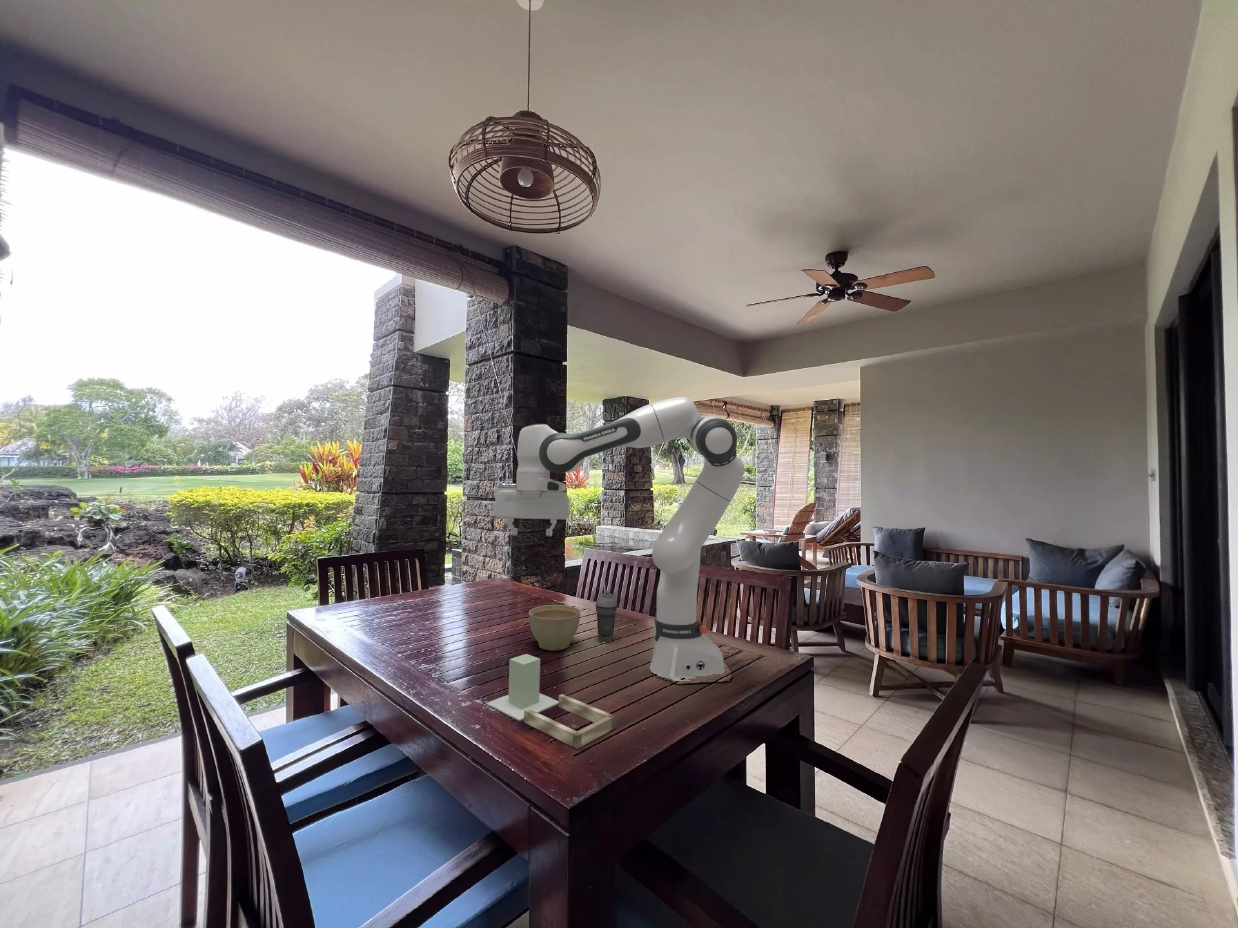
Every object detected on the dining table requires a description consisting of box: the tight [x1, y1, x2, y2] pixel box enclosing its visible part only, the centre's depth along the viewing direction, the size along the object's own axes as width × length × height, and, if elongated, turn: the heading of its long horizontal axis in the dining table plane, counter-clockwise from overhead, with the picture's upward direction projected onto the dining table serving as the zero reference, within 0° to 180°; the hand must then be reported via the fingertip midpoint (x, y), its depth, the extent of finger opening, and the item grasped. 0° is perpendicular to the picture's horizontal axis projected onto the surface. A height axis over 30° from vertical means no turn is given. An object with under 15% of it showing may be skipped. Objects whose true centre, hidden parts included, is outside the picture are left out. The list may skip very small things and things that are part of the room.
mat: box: [485, 692, 559, 722], centre depth 119 cm, size 12×12×1 cm
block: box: [508, 653, 541, 709], centre depth 119 cm, size 5×5×10 cm
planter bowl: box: [528, 604, 582, 652], centre depth 160 cm, size 16×16×11 cm
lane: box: [523, 693, 616, 750], centre depth 109 cm, size 16×11×2 cm
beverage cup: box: [594, 578, 618, 642], centre depth 166 cm, size 7×7×20 cm
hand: (531, 535), depth 137 cm, fingers open, 8 cm apart
